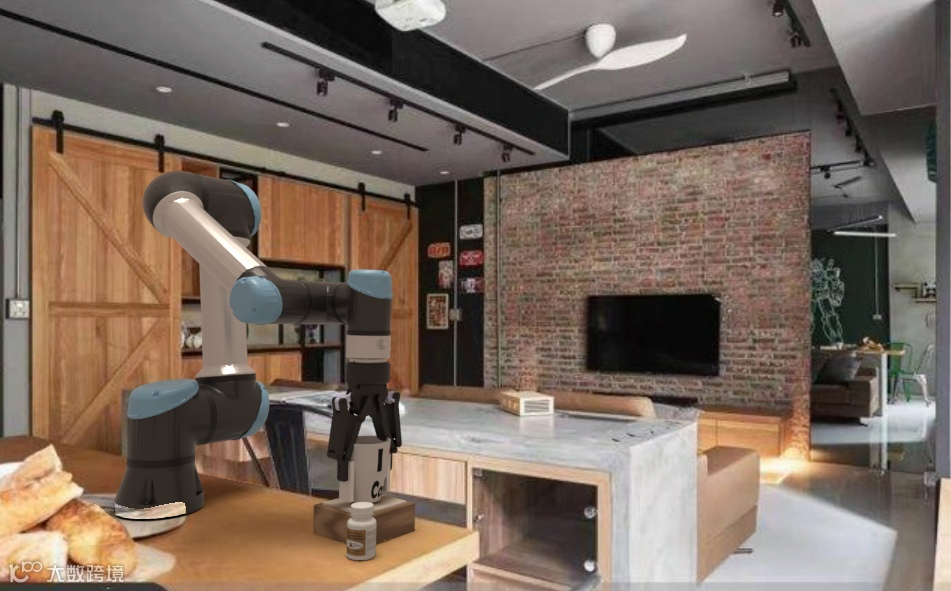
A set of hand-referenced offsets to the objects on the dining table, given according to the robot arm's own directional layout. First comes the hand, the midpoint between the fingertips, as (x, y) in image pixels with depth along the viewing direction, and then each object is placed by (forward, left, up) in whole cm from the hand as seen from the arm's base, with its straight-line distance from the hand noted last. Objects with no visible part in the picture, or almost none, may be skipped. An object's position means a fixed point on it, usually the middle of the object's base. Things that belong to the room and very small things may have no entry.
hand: (364, 495), depth 112 cm
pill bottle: (+8, -8, -6) cm, 13 cm away
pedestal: (0, 0, -6) cm, 6 cm away
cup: (0, 0, -1) cm, 1 cm away
